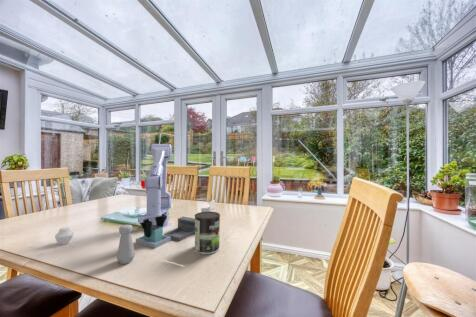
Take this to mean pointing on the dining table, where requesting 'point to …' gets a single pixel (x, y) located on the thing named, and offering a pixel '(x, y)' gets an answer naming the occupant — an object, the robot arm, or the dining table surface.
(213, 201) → the ink cartridge box
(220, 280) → the dining table surface
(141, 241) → the tray
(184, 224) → the bay
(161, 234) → the teal block grey face
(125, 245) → the salt shaker
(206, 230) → the coffee can
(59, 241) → the muffin
